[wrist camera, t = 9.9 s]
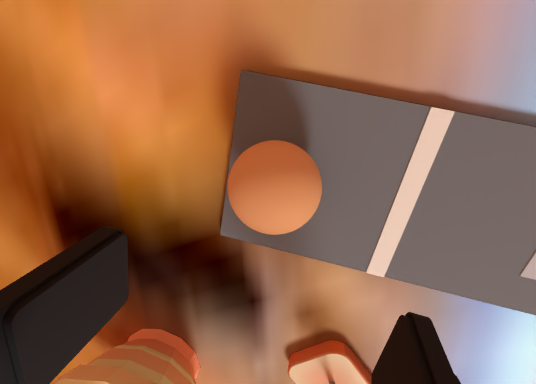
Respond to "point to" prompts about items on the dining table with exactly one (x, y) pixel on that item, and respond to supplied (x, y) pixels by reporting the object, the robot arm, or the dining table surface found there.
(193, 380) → the potted cactus
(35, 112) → the dining table surface
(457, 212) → the mat
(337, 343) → the crank mechanism
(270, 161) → the ball
